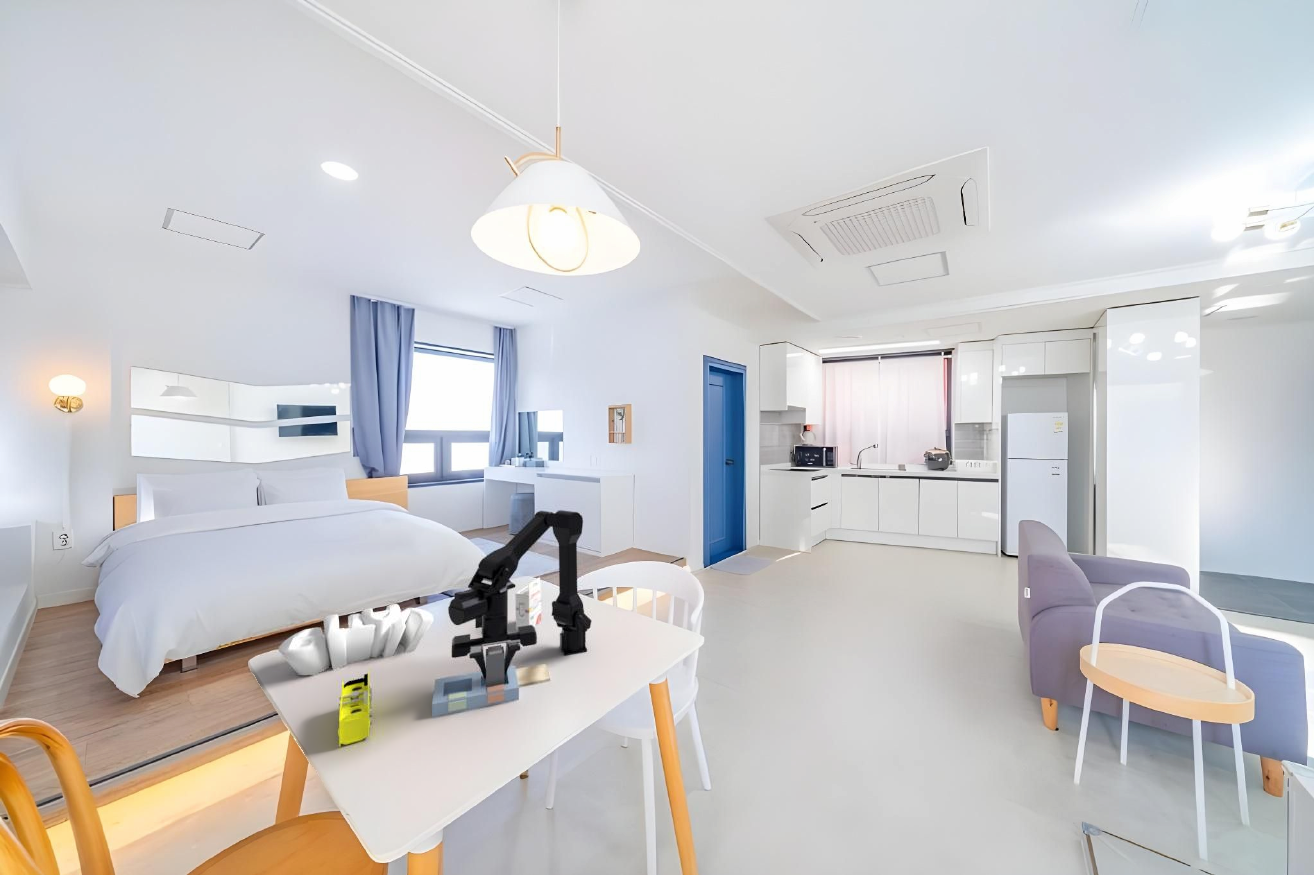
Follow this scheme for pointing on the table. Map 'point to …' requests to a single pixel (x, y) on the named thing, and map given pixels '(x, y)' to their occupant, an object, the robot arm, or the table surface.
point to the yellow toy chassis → (355, 710)
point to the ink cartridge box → (528, 605)
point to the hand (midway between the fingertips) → (494, 676)
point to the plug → (494, 666)
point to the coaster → (532, 675)
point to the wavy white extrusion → (355, 638)
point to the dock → (472, 692)
